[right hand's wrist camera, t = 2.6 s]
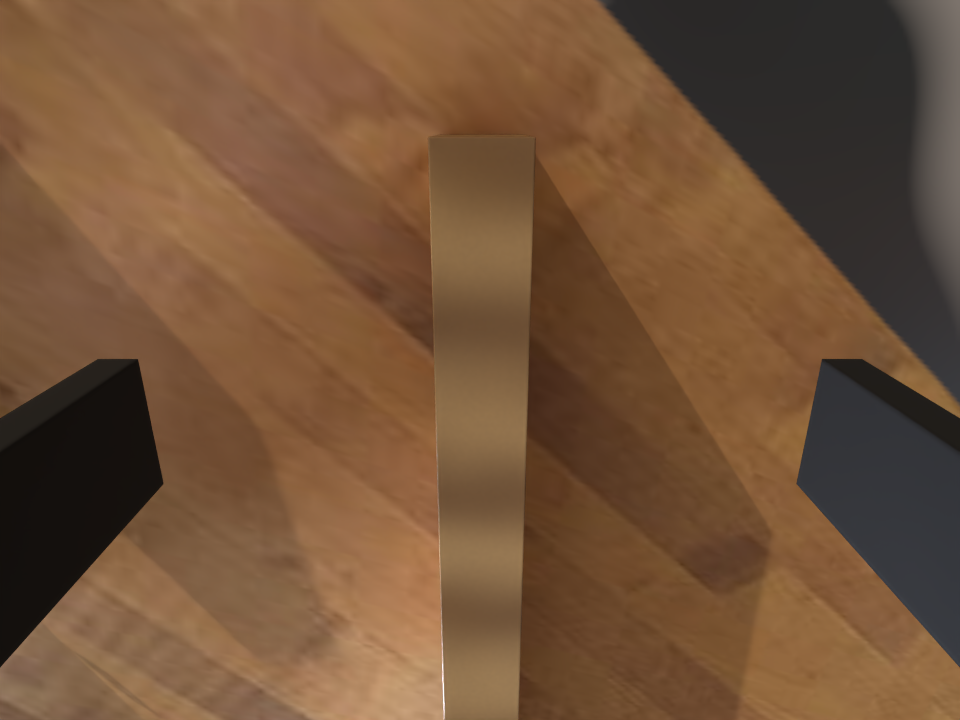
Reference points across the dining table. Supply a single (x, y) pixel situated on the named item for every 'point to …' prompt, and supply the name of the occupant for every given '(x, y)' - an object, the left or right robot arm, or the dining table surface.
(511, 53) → the dining table surface
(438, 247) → the beam
